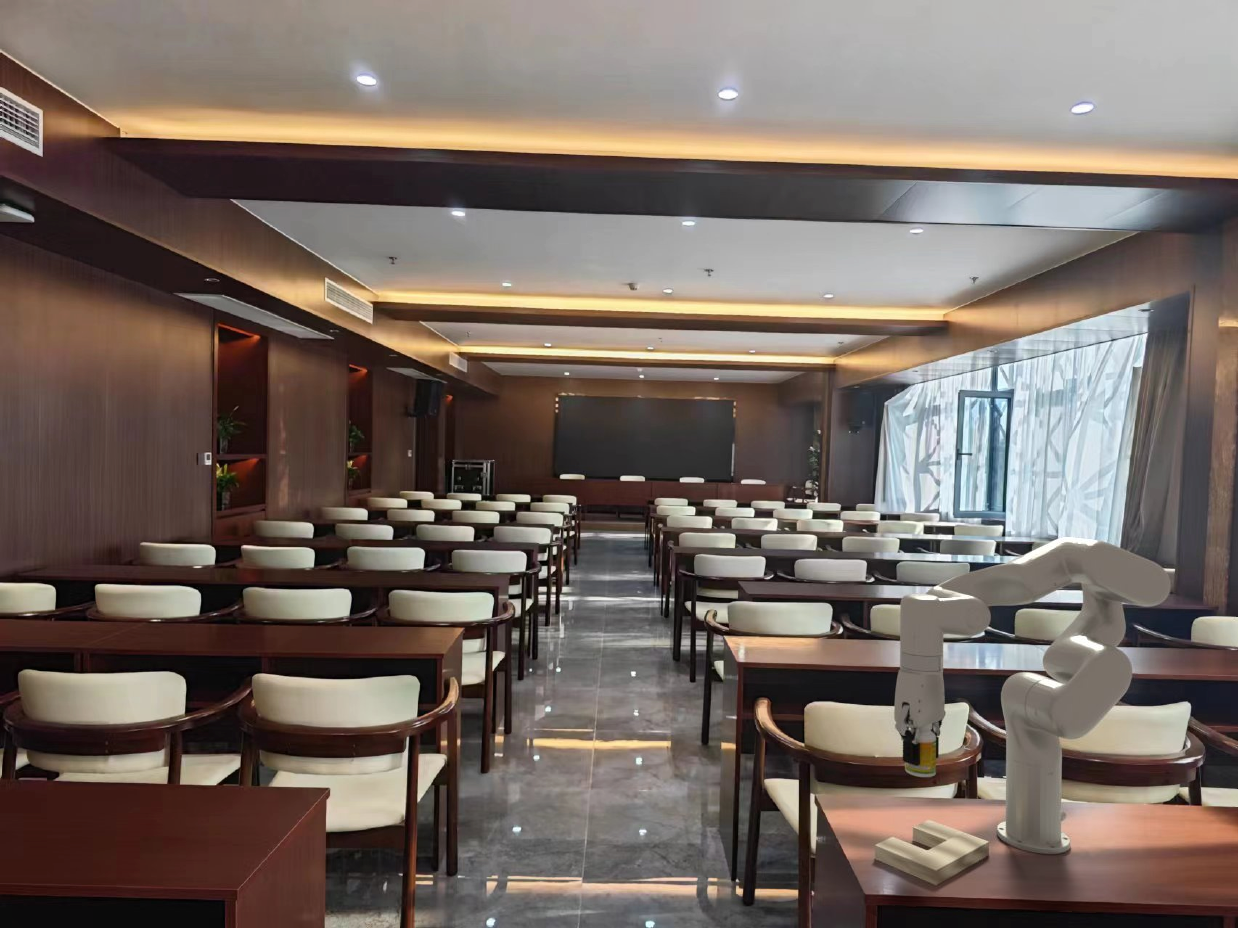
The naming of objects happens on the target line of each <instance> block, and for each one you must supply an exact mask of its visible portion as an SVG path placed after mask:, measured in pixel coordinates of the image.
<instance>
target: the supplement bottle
mask: <svg viewBox="0 0 1238 928" xmlns="http://www.w3.org/2000/svg"><path fill="white" fill-rule="evenodd" d="M909 724H911V725H913V722H912V721H909ZM931 729H932V723H931V724H928V725H926V726H923V727H921V728H920V733H919V739H918V743H919V744H920V765H918V766H915V765H912V764H909V763H906V762H904V770H905V771H906V773H907V774H909V775H911V776H914V777H917V778H918V777H920V778H931V777H933V776H935V775H936V774H937V758H936V736H935V734H934V733H933V732H932V731H931ZM909 730H910V731H911V733H912V734H913V732H914V729H913V728H909Z"/></svg>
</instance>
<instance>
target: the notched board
mask: <svg viewBox="0 0 1238 928" xmlns="http://www.w3.org/2000/svg"><path fill="white" fill-rule="evenodd" d="M912 841H914V842H916V843H918V844H921V845H923V846H926V847H928V848H929V849H928V850H927V849H924V848H922V847H919V846H917V845H914V844H911V843H909V842H907V841H904V840H902V839H900V838H897V837H894V836H891V837H889V838H886V839H885V840H883V841H880V842H878V843H877V844H875V845H874V860H877V861H879V862H880V863H881V862H882V863H883V864H886V865H887V866H888V865H889V866H890V867H893V868H895V869H898V870H900V871H902V872H904V873H906V874H909V875H911V876H913V877H916V878H919V879H920V880H923V881H925V882H928V883H930V884H932V885H935V886H937V885H939V884H941V883H942V882H945V881H946V880H948V879H949V878H951V877H954V876H956V874H958V873H960V872H962V871H963V870H965V869H967V868H969V867H971V866H972V865H974V864H976V863H978V862H979V860H980V861H982V860H983V859H985V858H987V857H989V856H990V841H989V840H986V839H983V838H980V837H977V836H975V835H972V834H969V833H966V832H965V831H961V830H958V829H956V828H953V827H950V826H947V825H944V824H941V823H939V822H936V821H933V820H930V819H927V820H925V821H923V822H921V823H919V824H916V825H915V826H913V827H912ZM988 855H989V856H988ZM986 856H987V857H986Z"/></svg>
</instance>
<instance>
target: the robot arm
mask: <svg viewBox="0 0 1238 928" xmlns="http://www.w3.org/2000/svg"><path fill="white" fill-rule="evenodd" d="M1074 583H1075V584H1076V583H1078V584H1079V583H1080V584H1081V590H1082V606H1081V610H1080V612H1079V613H1078V615H1077V616H1076V617H1075V618H1074V620H1073V621H1072V622H1071V623H1070V624H1069V625H1068V626H1067V627H1066V629H1064V630H1063V632H1062V633H1060V635H1058V637H1056V639H1055V640H1053V642H1052V643H1051V645H1049V647H1047V649H1046V650H1045V652H1044V654H1043V656H1042V657H1043V658H1042V667H1043V669H1044V670H1045V672H1046V674H1047V675H1048V676H1049V677H1047V676H1045V675H1042V674H1039V673H1036V672H1035V673H1034V672H1031V671H1030V672H1028V671H1026V672H1025V671H1023V672H1017V673H1014V674H1013V675H1010V676H1009V677H1008V678H1006V680H1005V681H1004V683H1003V685H1002V688H1001V692H1000V701H1001V708H1002V714H1003V717H1004V724H1005V740H1006V741H1005V742H1006V743H1005V744H1006V749H1005V752H1006V754H1005V820H1004V821H1002V822H1000V823H998V825H997V826H996V834H997V836H998V837H999V839H1001V841H1002V842H1004V843H1006V844H1008V845H1010V846H1012V847H1013V848H1017V849H1019V850H1023V851H1025V852H1030V853H1035V854H1037V853H1038V854H1042V855H1043V854H1045V855H1055V854H1056V855H1057V854H1062V853H1065V852H1067V851H1069V849H1070V848H1071V839H1070V837H1069V836H1068V835H1067V834H1066V833H1064V832H1063V831H1062V822H1063V821H1064V820H1066V818H1067V814H1066V811H1064V810H1062V775H1063V774H1062V768H1063V767H1062V763H1063V754H1062V753H1063V751H1062V745H1061V741H1060V738H1061V739H1066V740H1078V739H1081V738H1083V737H1085V736H1087V735H1088V734H1089V733H1090V732H1091V731H1092V730H1093V729H1094V728H1095V727H1096V726H1097V725H1099V723H1100V722H1101V721H1102V720H1103V718H1105V717H1106V715H1107V714H1108V713H1109V712H1110V711H1111V710H1112V709H1113V708H1114V707H1115V705H1116V704H1117V703H1118V702H1119V701H1120V700H1121V699H1122V697H1124V695H1125V694H1126V693H1127V691H1128V689H1129V687H1130V685H1131V681H1132V679H1133V667H1132V666H1133V665H1132V663H1131V661H1130V658H1129V657H1128V655H1127V654H1126V653H1125V652H1124V651H1122V650H1121V649H1119V648H1118V646H1119V645H1120V643H1121V642H1122V641H1123V639H1124V637H1125V635H1126V629H1127V625H1126V624H1127V623H1126V619H1125V612H1124V606H1123V603H1124V604H1128V605H1133V606H1139V607H1145V608H1146V607H1147V608H1148V607H1155V606H1158V605H1160V604H1161V603H1163V602H1164V601H1165V600H1166V599H1167V598H1168V597H1169V594H1170V593H1171V587H1172V585H1171V584H1172V583H1171V579H1170V576H1169V574H1168V573H1167V571H1166V570H1165V569H1164V567H1162V566H1161V565H1160V564H1158V563H1157V562H1155V561H1153V560H1150V559H1148V558H1145V557H1143V556H1141V555H1138V554H1135V553H1133V552H1131V551H1128V550H1126V549H1124V548H1122V547H1119V546H1117V545H1114V544H1111V543H1108V542H1106V541H1103V540H1098V539H1091V538H1090V539H1089V538H1082V537H1081V538H1079V537H1078V538H1077V537H1069V536H1066V537H1060V538H1059V537H1058V538H1056V539H1054V540H1052V541H1049V542H1047V543H1045V544H1042V545H1041V546H1039V547H1037V548H1035V549H1033V550H1031V551H1028V552H1027V553H1025V554H1023V555H1021V556H1019V557H1017V558H1014V559H1012V560H1010V561H1007V562H1005V563H1001V564H997V565H994V566H993V565H992V566H989V567H985V568H982V569H978V570H973V571H969V572H965V573H963V574H960V575H956V576H954V577H952V578H950V579H948V580H945V581H943V582H942V583H941V582H940V583H939V584H937V585H935V586H933V587H932V588H930V589H929V590H928V591H926V593H925V594H924V593H909V594H906V595H904V596H903V597H902V598H901V600H900V605H899V607H900V618H899V623H900V625H899V626H900V627H899V628H900V629H899V632H900V633H899V634H900V635H899V638H900V640H899V641H900V642H899V649H900V650H899V668H900V669H899V670H898V672H897V678H896V685H895V693H894V709H893V710H894V711H893V713H894V714H893V715H894V716H893V717H894V718H893V719H894V721H895V724H894V727H895V729H896V731H897V732H898V733H899V736H900V739H901V741H902V762H904V763H905V762H906V763H909V764H912V765H915V766H918V765H920V744H919V743H918V739H919V733H920V728H921V727H923V726H926V725H928V724H931V723H932V729H931V731H932V732H933V733H934V734H935V736H936V759H939V758H940V757H939V755H940V754H939V752H940V751H939V748H940V747H939V744H940V742H939V740H940V739H939V738H940V735H941V727H942V725H943V720H944V718H945V716H946V709H945V707H946V705H945V703H946V702H945V682H944V675H943V674H944V673H943V672H944V636H945V635H951V636H952V635H953V636H960V637H974V636H977V635H980V634H982V633H983V632H985V631H986V630H987V629H988V627H989V625H990V622H991V617H992V616H991V611H990V609H989V607H992V606H993V607H994V606H996V607H997V606H1019V605H1027V604H1032V603H1034V602H1037V601H1038V600H1040V599H1042V598H1044V597H1046V596H1048V595H1050V594H1052V593H1054V592H1055V591H1058V590H1060V589H1062V588H1065V587H1066V586H1069V585H1070V584H1074ZM1050 677H1051V678H1050ZM909 721H912V722H913V725H911V724H909ZM911 728H913V729H914V732H913V734H912V733H911V731H910V730H909V729H911Z"/></svg>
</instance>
